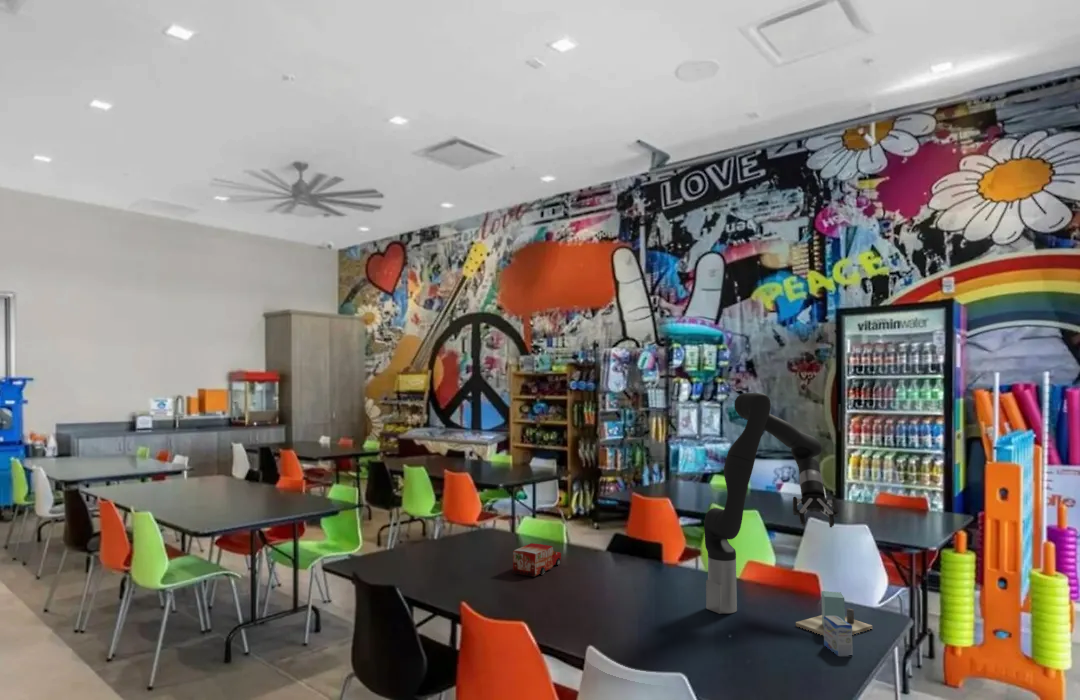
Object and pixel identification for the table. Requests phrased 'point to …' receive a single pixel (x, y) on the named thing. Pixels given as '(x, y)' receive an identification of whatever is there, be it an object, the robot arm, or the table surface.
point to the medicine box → (838, 635)
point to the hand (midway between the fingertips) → (817, 525)
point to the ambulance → (534, 559)
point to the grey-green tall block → (832, 605)
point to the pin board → (817, 626)
